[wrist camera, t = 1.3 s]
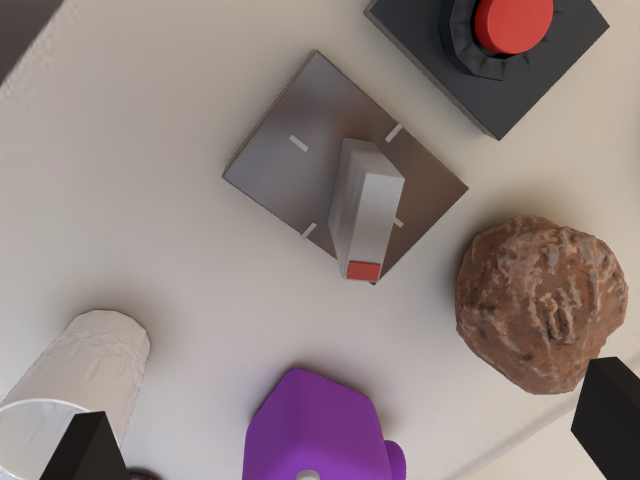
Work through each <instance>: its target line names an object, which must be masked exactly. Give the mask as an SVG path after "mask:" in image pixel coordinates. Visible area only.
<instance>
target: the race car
mask: <svg viewBox="0 0 640 480" xmlns="http://www.w3.org/2000/svg"><path fill="white" fill-rule="evenodd" d="M129 476H130V479H131V480H154V479H152V478H149V477H146V476H143V475H137V474H129Z"/></svg>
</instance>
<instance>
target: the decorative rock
mask: <svg viewBox="0 0 640 480" xmlns="http://www.w3.org/2000/svg"><path fill="white" fill-rule="evenodd" d="M456 282H457V287H456V292H455V312H456V321H457V327H456V330H457V332H458V333H459V335H460V336H461V337H462V338H463V339H464V341H465V342H466V344H467V345H468V347H469V348H470V349H471V350H472V352H473V353H474V354H476V355H477V356H478V357H479V358H481V359H482V360H484V361H485V362H486V363H488V364H489V365H491V366H492V367H493V368H494V369H496V370H497V371H498V372H500V373H501V374H503V375H504V376H505V377H506V378H507V379H508V380H510V381H511V382H513V383H514V384H516V385H517V386H519V387H520V388H522V389H523V390H524V391H526V392H528V393H531V394H534V395H542V394H543V395H552V394H560V393H567V392H570V391H573V390H574V389H575V387H576V386H577V384H578V383H579V382H580V381H581V379H582V378H583V377H584V376H585V374H586V371H587V367H588V364H589V360H590V359H597V357H598V355H599V353H600V349H601V347H602V346H603V345H605V343H606V339H607V337H608V336H609V335H610V334H611V333H613V332H614V331H615V330H616V329H617V328H618V327H620V326H621V325H622V324H623V323H624V319H625V314H626V308H627V303H628V286H627V284H626V282H625V280H624V273H623V271H622V269H621V268H620V265H619V263H618V261H617V259H616V257H615V255H614V254H613V252H612V251H611V250H610V248H609V247H608V246H607V245H606V243H604V242H603V241H602V240H599V239H597V238H595V236H594V235H589V234H587V233H583V232H579V231H576V230H574V229H571V228H569V227H562V228H561V227H559V226H557V225H556V224H554V223H553V222H551V221H549V220H547V219H545V218H541V217H533V216H518V215H517V216H515V217H514V218H512V219H510V220H509V221H507V222H505V223H502V224H499V225H497V226H495V227H492V228H490V229H488V230H486V231H484V232H482V233H480V234H478V235H477V236H476V237H475V238H474V239H473V240H472V242H471V244H470V247H469V248H468V250H467V252H466V253H465V255H464V259H463V264H462V266H461V268H460V271H459V276H458V278H457V281H456Z"/></svg>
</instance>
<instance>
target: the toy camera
mask: <svg viewBox="0 0 640 480" xmlns="http://www.w3.org/2000/svg"><path fill="white" fill-rule="evenodd" d="M242 480H406V461H405V457H404V454H403V451H402V449H401V448H400V446H399V445H398V444H397V443H395V442H393V441H390V440H384V439H383V435H382V431H381V428H380V424H379V420H378V417H377V414H376V410H375V407H374V405H373V403H372V401H371V400H370V399H369V398H368V397H366V396H365V395H363V394H361V393H359V392H357V391H355V390H352V389H350V388H348V387H345V386H343V385H341V384H338V383H336V382H334V381H331V380H329V379H326V378H324V377H322V376H319V375H317V374H314V373H312V372H309V371H306V370H304V369H292V370H291V371H289V372H288V373H287V374H286V375H285V376H284V378H283V379H282V380H281V381H280V383H279V384H278V385H277V387H276V388H275V389H274V391H273V392H272V393H271V395H270V396H269V397H268V399H267V400H266V402H265V403H264V404H263V406H262V407H261V408H260V410H259V411H258V412H257V414H256V415H255V417H254V418H253V419H252V421H251V423H250V424H249V426H248V429H247V432H246V439H245V449H244V461H243V474H242Z"/></svg>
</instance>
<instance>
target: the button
mask: <svg viewBox="0 0 640 480" xmlns="http://www.w3.org/2000/svg"><path fill="white" fill-rule="evenodd" d="M552 15H553V1H552V0H481V1H480V3H479V5H478V7H477V10H476V14H475V19H474V27H475V33H476V36H477V38H478V40H479V42H480V43H481V45H482V46H483V47H485V48H486V49H487V50H489V51H492V52H496V53H507V54H517V53H522V52H525V51H527V50H529V49H530V48H532V47H533V46H535V45H536V44H537V43H538V42H539V41H540V40H541V39H542V38H543V36H544V35H545V33H546V32H547V30H548V28H549V26H550V23H551V20H552Z"/></svg>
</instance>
